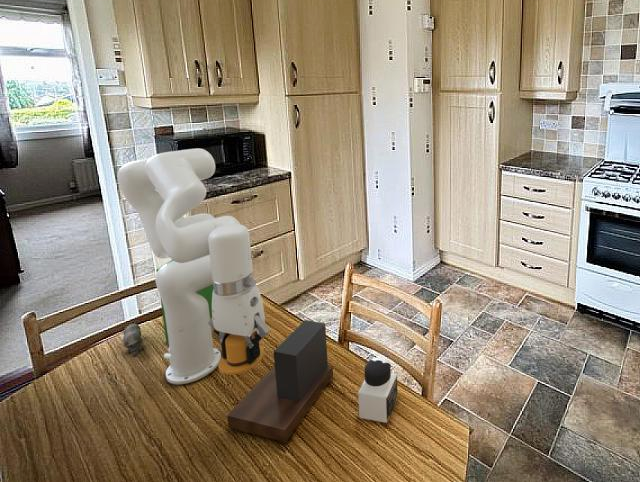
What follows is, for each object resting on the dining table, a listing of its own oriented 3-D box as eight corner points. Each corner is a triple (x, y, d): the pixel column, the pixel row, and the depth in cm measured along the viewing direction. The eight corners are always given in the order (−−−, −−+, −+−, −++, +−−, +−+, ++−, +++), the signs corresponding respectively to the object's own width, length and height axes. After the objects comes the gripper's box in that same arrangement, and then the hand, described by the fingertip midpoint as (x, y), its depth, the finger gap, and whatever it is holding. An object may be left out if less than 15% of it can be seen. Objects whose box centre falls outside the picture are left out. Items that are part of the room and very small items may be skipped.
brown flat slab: (228, 430, 84) (226, 415, 83) (284, 368, 102) (283, 355, 101) (286, 445, 80) (284, 429, 80) (333, 378, 98) (332, 365, 98)
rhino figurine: (125, 367, 103) (122, 347, 102) (124, 341, 113) (121, 323, 112) (145, 359, 105) (142, 340, 104) (141, 335, 115) (139, 318, 114)
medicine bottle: (387, 424, 85) (386, 378, 83) (358, 418, 87) (356, 373, 85) (398, 398, 92) (396, 355, 90) (371, 393, 94) (369, 351, 92)
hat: (208, 370, 80) (205, 347, 79) (240, 342, 89) (238, 321, 88) (243, 378, 78) (240, 354, 77) (273, 349, 87) (271, 327, 86)
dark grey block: (276, 396, 88) (272, 351, 86) (307, 360, 100) (304, 319, 98) (299, 401, 87) (295, 355, 85) (327, 364, 98) (325, 323, 96)
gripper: (279, 278, 82) (286, 351, 85) (215, 269, 86) (223, 340, 89) (254, 297, 75) (262, 376, 78) (186, 286, 79) (195, 362, 82)
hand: (241, 356), depth 83 cm, fingers closed on hat, 5 cm apart
